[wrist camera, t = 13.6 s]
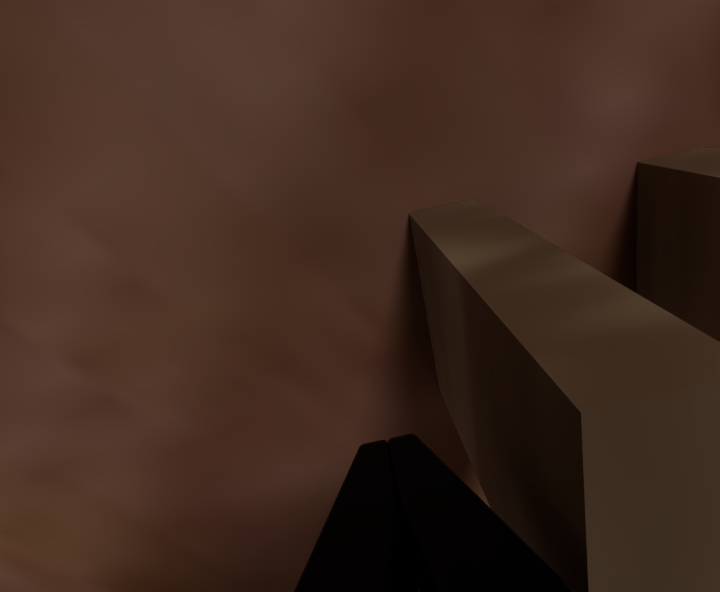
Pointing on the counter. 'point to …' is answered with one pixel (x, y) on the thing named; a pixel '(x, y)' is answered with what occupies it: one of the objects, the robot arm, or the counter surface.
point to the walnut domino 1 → (575, 404)
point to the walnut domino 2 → (681, 236)
